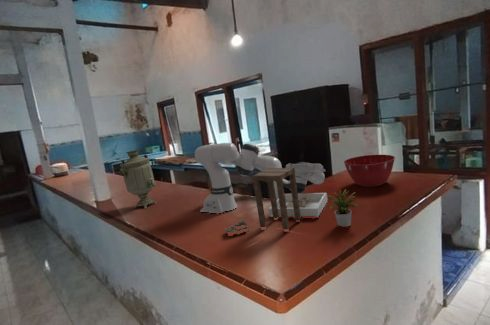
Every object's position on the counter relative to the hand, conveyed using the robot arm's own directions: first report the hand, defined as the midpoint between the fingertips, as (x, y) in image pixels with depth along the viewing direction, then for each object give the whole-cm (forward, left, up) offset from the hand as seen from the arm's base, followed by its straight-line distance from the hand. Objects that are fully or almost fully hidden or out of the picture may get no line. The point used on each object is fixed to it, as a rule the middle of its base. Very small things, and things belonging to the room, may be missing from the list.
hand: (298, 164), depth 159 cm
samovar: (-114, +3, -24) cm, 116 cm away
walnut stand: (-4, -25, -23) cm, 34 cm away
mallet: (-1, -1, -22) cm, 23 cm away
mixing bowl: (+31, +40, -24) cm, 56 cm away
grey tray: (-1, -4, -23) cm, 24 cm away
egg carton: (-23, -34, -24) cm, 47 cm away
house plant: (+23, -24, -24) cm, 41 cm away
